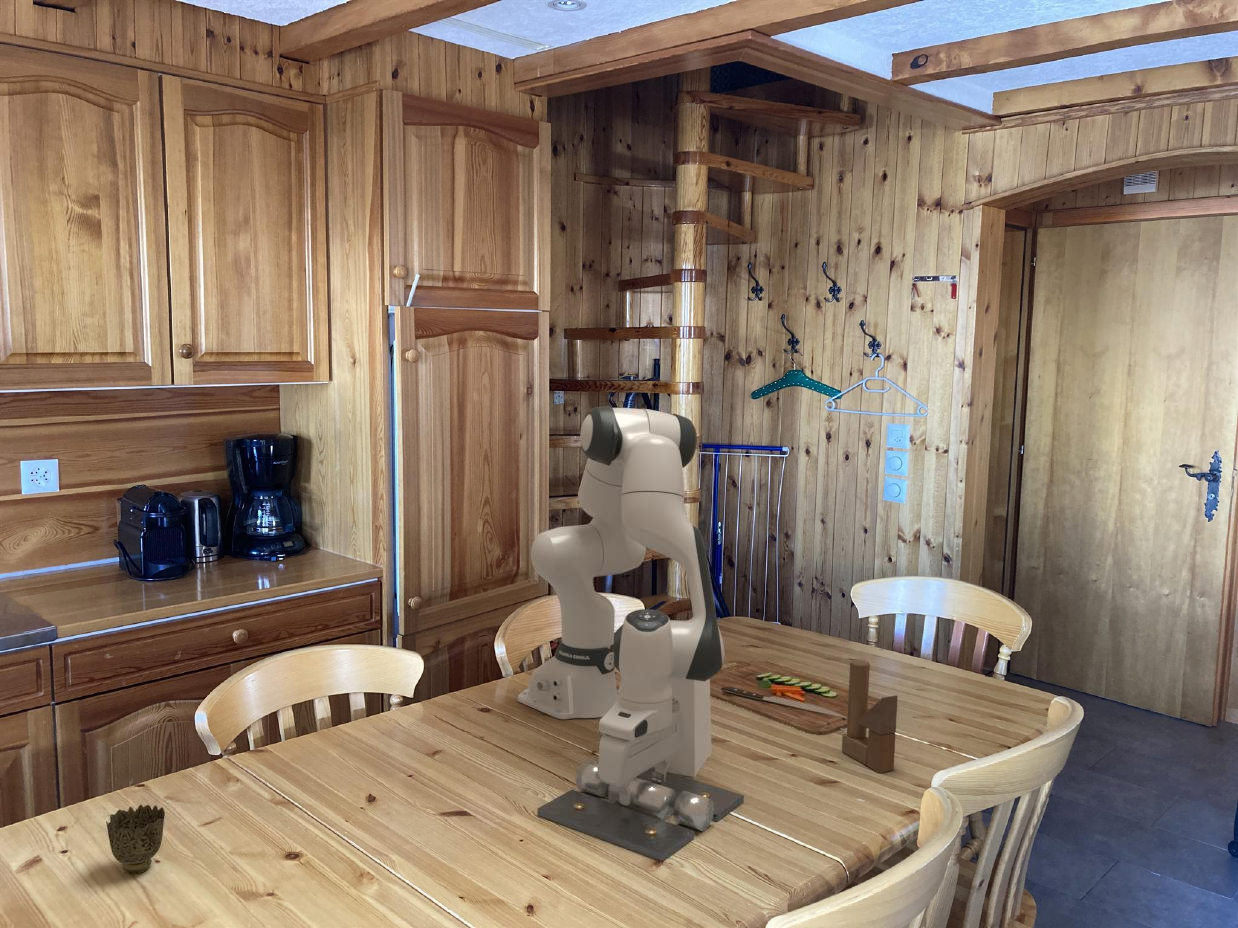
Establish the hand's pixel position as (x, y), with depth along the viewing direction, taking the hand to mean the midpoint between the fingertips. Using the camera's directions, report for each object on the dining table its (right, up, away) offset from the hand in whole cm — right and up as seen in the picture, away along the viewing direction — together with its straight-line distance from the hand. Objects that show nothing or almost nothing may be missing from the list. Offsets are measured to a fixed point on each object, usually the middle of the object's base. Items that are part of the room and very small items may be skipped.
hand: (642, 792), depth 163 cm
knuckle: (0, -3, 0) cm, 3 cm away
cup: (-72, -4, -22) cm, 76 cm away
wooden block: (+42, -2, +22) cm, 48 cm away
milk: (+6, -1, +21) cm, 21 cm away
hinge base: (0, -3, 0) cm, 3 cm away
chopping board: (+33, +2, +57) cm, 65 cm away
